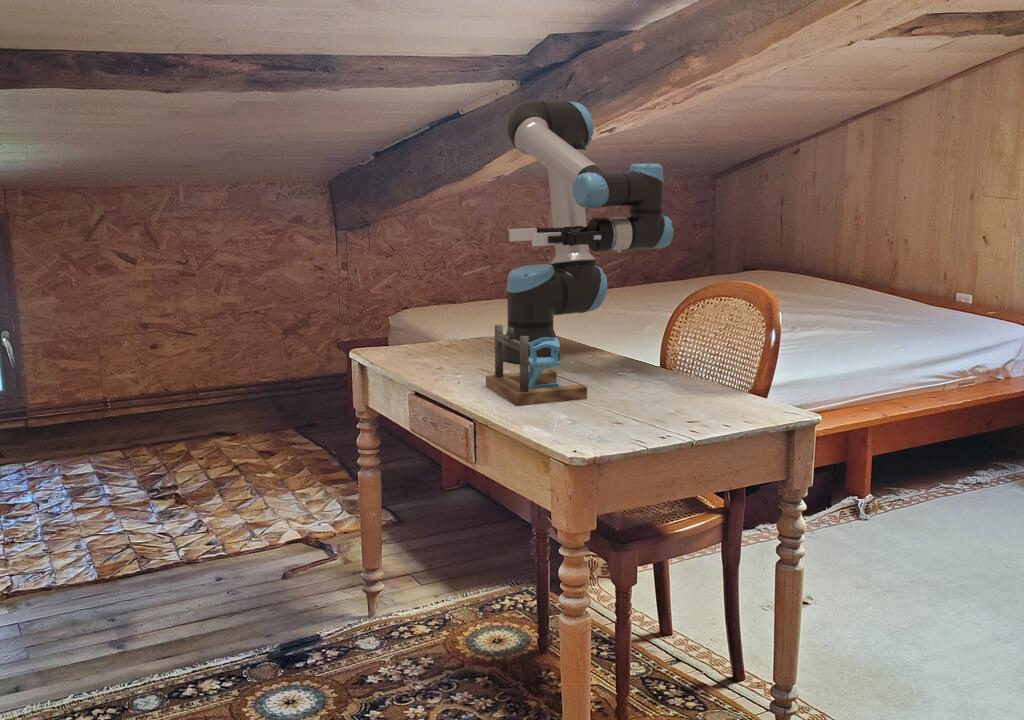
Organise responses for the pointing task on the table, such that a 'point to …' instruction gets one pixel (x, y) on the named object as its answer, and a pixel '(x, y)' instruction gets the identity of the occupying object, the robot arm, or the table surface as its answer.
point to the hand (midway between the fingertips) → (520, 237)
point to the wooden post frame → (526, 376)
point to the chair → (542, 360)
